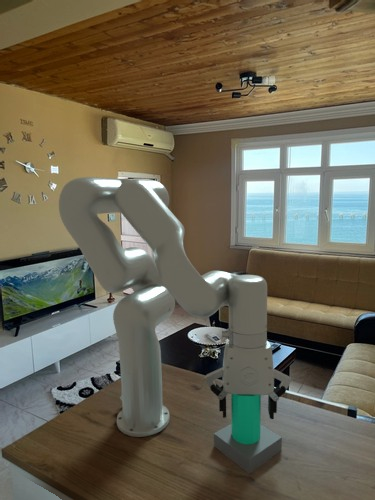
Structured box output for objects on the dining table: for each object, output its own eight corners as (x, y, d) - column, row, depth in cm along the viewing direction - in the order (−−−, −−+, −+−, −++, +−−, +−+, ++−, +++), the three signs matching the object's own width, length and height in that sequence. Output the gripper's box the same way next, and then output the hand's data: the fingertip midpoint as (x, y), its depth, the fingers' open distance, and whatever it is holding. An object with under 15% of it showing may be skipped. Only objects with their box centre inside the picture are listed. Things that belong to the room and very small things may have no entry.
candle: (260, 446, 73) (260, 390, 71) (230, 442, 74) (230, 388, 72) (260, 427, 78) (260, 375, 77) (232, 424, 80) (232, 373, 78)
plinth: (214, 446, 77) (213, 433, 77) (246, 427, 83) (246, 415, 83) (249, 473, 69) (249, 459, 69) (281, 450, 76) (281, 437, 75)
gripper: (204, 343, 70) (205, 424, 72) (295, 344, 68) (293, 427, 71) (205, 329, 77) (206, 403, 80) (287, 330, 76) (286, 405, 78)
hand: (247, 414), depth 75 cm, fingers open, 9 cm apart
